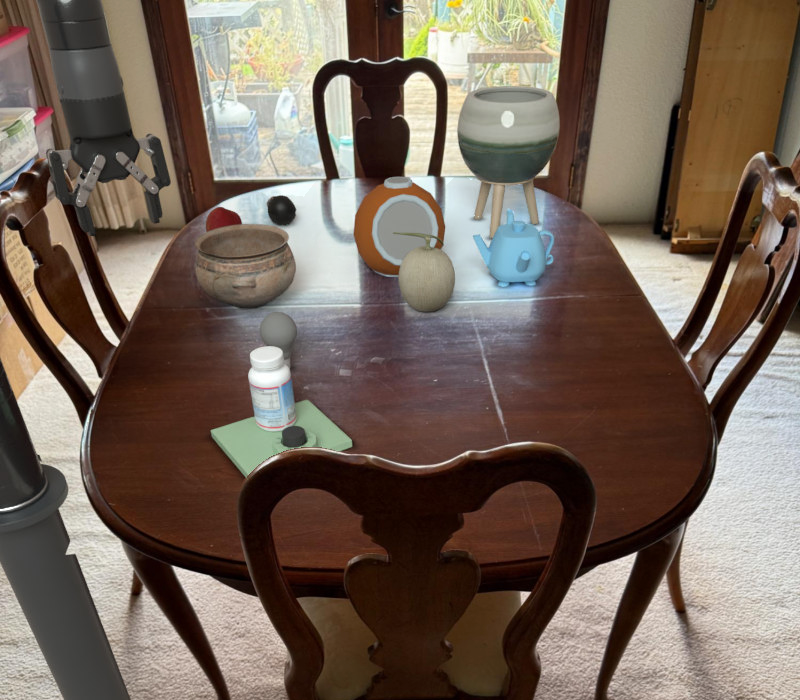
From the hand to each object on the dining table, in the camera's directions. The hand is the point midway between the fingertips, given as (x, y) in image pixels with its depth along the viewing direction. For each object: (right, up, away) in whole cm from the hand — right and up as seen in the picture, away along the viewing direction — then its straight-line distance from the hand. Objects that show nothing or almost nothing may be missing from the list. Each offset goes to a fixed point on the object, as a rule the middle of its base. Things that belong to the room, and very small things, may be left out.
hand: (123, 228), depth 103 cm
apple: (-3, +26, +76) cm, 80 cm away
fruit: (+42, +3, +46) cm, 62 cm away
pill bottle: (+18, -24, +13) cm, 33 cm away
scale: (+19, -27, +10) cm, 35 cm away
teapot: (+60, +11, +56) cm, 83 cm away
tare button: (+22, -28, +6) cm, 36 cm away
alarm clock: (+37, +16, +63) cm, 74 cm away
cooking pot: (+7, +5, +50) cm, 50 cm away
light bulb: (+17, -13, +28) cm, 35 cm away
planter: (+61, +32, +80) cm, 106 cm away
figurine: (+8, +38, +90) cm, 98 cm away
